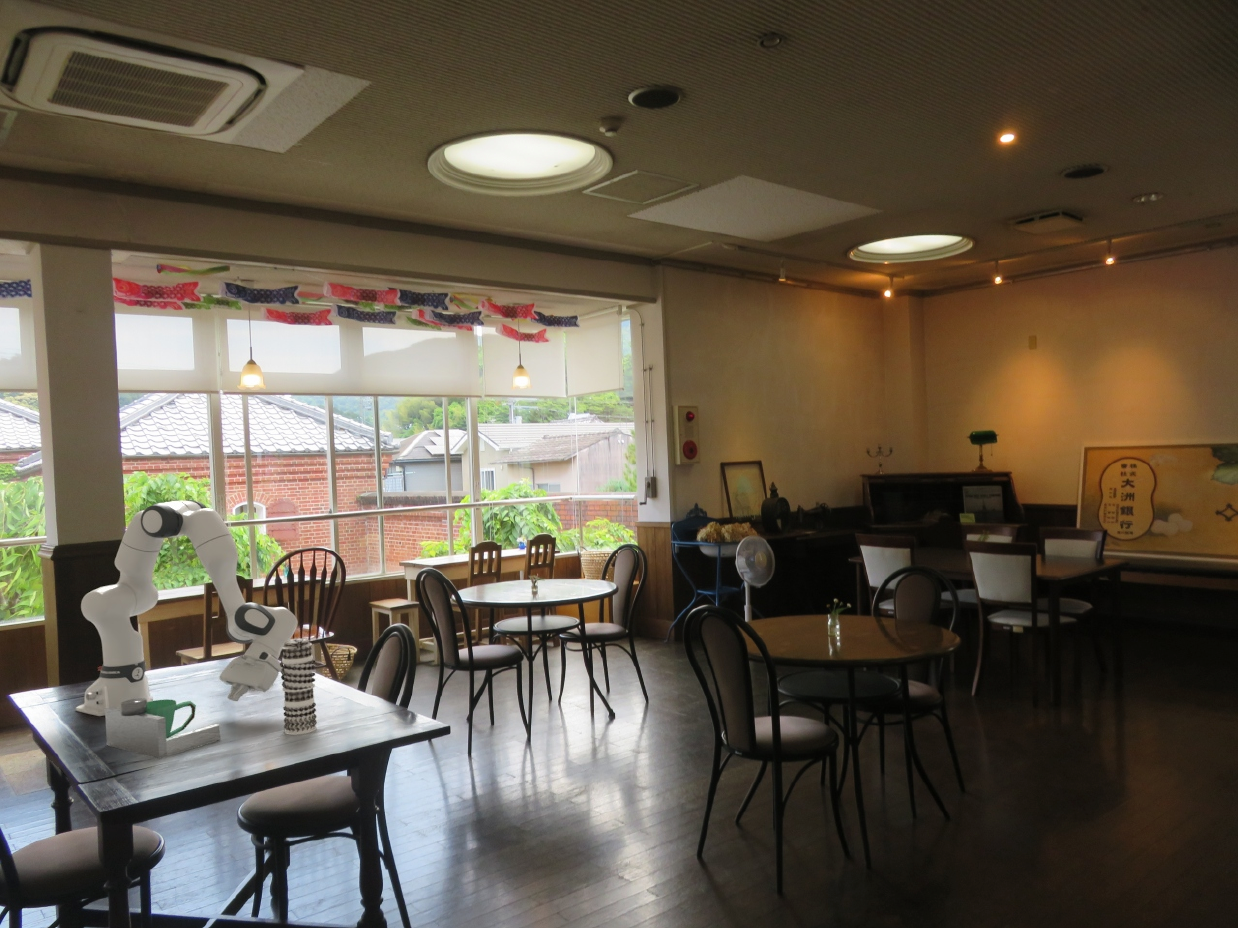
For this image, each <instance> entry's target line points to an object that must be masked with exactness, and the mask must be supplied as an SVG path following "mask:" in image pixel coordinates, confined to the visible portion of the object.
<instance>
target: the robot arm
mask: <svg viewBox="0 0 1238 928" xmlns="http://www.w3.org/2000/svg"><path fill="white" fill-rule="evenodd" d="M183 536H185V537H187V538H188V539H189V541H190V542H191V544H192V547H193V550H194V551H195V554H196V555H197V557H198V559H199V561H200V563H201V565H202V566H203V568H204V570H205V571H206V573H207V574H208V577H209V578H210V581H211V582H212V584H213V586H214V588H215V591H216V594H217V596H218V599H219V601H220V603H221V605H222V608H223V610H224V613H225V617H226V621H225V622H226V624H225V625H226V626H225V630H226V634H227V636H228V638H229V639H230V640H231V641H233V642H235V643H237V644H241V645H245V644H250V645H249V647H248V649H246V651H245V653H244V654H241V655H239V656H237V657H236V658H234V659H232V660H230V662H229V663H228V664H227V665H226V666H225V668H224V669H223V670H222V671H221V673H220V674H219V679H218V680H220V681H222V682H223V683H224V684H226V685H229V686H231V688H230V692H229V693H228V695H227V699H228V700H230V701H233V702H238V701H239V700H240V698H241V697H242V696H243V695H245V694H246V693H248V690H252V691H256V692H257V691H258V692H262V693H265V692H268V691H269V690H270V688H271V687H272V686H273V684H274V683H275V681H276V680H277V678H278V677H279V674H280V673H281V669H282V668H283V667H281V666H280V663H281V661H279V660H278V659H279V657H280V656H281V652H282V651H283V648H281V647H282V646H284V644H285V642H286V641H288V640H291V639H292V638H293V636H294V633H296V632H295V631H297V628H298V623H299V621H298V618H297V616H296V615H295V614H294V612H292V611H291V610H290V609H288V608H287V607H284V606H277V607H273V606H266V605H263V604H260V603H258V602H246V600H245V599H244V596H243V594H242V591H241V589H240V586H239V584H238V581H237V567H238V561H239V553H238V548H237V545H236V542H235V539H234V537H233V535H232V533H231V531H230V530H229V528H228V526H227V524H226V523H225V521H224V520H223V518H222V516H221V515H220V514H219V512H217V510H215V508H214V509H213V508H208V507H207V506H206V505H205V504H204V503H202V502H201V501H196V500H192V499H190V500H171V501H166V502H157V503H155V504H152V505H149V506H147V507H146V508H145V509H143V510H140V511H138V512H136V513H135V514H134V516H133V517H132V518H131V520H130V522H129V524H128V526H127V528H126V530H125V532H124V534H123V537H122V539H121V542H120V545H119V548H118V551H117V553H116V557H115V558H114V566H115V567H116V569H117V570H118V571H119V573H120V574H119V575H120V576H119V579H118V581H117V582H116V583H115V584H109V585H105V586H100V587H98V588H96V589H93V590H91V591H90V592H88V593H86V594H85V595H84V596H83V598H82V599H81V604H80V609H81V613H82V615H83V617H84V618H85V620H87V621H88V622H91V623H92V624H93V625H94V626H95V628H96V630H97V632H98V635H99V637H100V640H101V647H102V648H101V649H102V650H101V651H102V661H103V664H102V666H99V667H98V666H97V669H98V670H97V671H100V672H99V677H98V678H97V679H96V680H95V681H94V682H93V683H92V684H91V685H89V687H88V688H86V690H85V692H84V703H82V704H79V705H78V706H76V707H75V711H76V712H80V713H84V714H88V715H91V716H92V715H93V716H97V717H101V716H103V717H104V716H105V708H109V707H117V708H121V703H122V702H124V701H127V700H131V699H139V698H144V699H147V702H150V701H154V697H153V696H151V693H150V691H151V690H150V683H149V679H148V676H147V674H146V671H147V668H146V667H147V663H146V659H144V657H145V656H144V640H143V639H144V637H143V635H142V634H141V633H140V632H139V631H137V630H135V629H134V627H133V625H132V623H131V619H130V618H131V617H134V616H138V615H142V614H144V613H146V612H147V611H149V610H151V609H153V608H154V607H156V605H157V604H158V600H159V591H158V588H157V587H156V585H155V584H154V582H153V577H154V575H153V574H154V570H155V567H156V563H157V560H158V557H159V554H160V552H161V550H162V545H163V543H164V540H165V539H167V538H178V537H183Z"/></svg>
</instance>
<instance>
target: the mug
mask: <svg viewBox="0 0 1238 928" xmlns="http://www.w3.org/2000/svg"><path fill="white" fill-rule="evenodd" d="M186 707H190V709H191V714H190V715H189V716H188V718H187V719H186V720H185V722H184V723H183V724H182V725H181V726H179V727H178V728H175V729H174V730H172V728H173V724H174V720H175V713H176V711H179V710H180V709H183V708H186ZM196 707H197V704H196V703H194V702H192V701H191V700H188V701H183V702H180V703H177V700H175V699H156V700H153V701H150V702H147V712H146V714H150V715H155V716H160V717H165V724H166V739H167V738H170V737H173V736H176V735H178V734H179V733H180V732H182V731H184V730H185V729H186V728H187V727H188V725H189V724H190V723H191V722H192V721H193V720H194V719H195V715H196V709H197V708H196Z"/></svg>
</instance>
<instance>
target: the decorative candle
mask: <svg viewBox="0 0 1238 928" xmlns="http://www.w3.org/2000/svg"><path fill="white" fill-rule="evenodd" d="M312 645H313V643H312V642H310V641H309V639H307V638H304V637H303V638H300V637H299V638H291V639H290V640H288V641H286V642H285V644H284V646H282V647H281V648H283V649H282V658H281V659H282V660H281V661H280V666H281V667H283V668H282V669H281V672H280V673H281V676H280V678H281V680H282V683H281V686H282V691H283V692H284V700H283V702H284V703H283V704H284V706H283V708H282V709H283V711H284V712H283V716H284V719H283V722H284V725H283V729H284V734H286V735H290V736H292V735H293V736H299V735H305V734H309V733H312V732H314V731H316V730H317V723H318V722H317V714H315V712H317V709H316V708H315V707H316V706H317V704H316V702H315V696H314V688H315V687H316V685H315V683H314V682H315V681H316V678H314V676H316V672H315V673H314V672H313V670H314V669H316V666H315V665H313V664H315V663H316V660H315V659H314V658H313V654H312Z"/></svg>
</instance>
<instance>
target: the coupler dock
mask: <svg viewBox="0 0 1238 928" xmlns="http://www.w3.org/2000/svg"><path fill="white" fill-rule="evenodd" d="M146 712H147V699H144V698H139V699H131V700H127V701H124V702H122V703H121V708H117V707H109V708H105V715H104V716H105V732H106V735H105V736H106V746H107V745H108V746H107V747H112V748H115V749H120V750H123V751H127V752H131V753H136V754H139V755H143V756H146V757H151V758H155V759H158V760H160V759H163V758H166V757H170V756H173V755H176V754H180V753H182V752H186V751H188V750H192V749H195V748H198V746H199V747H202V746H205V745H208V744H211V742H212V743H214V741H215V742H217V740H218V741H220V740H221V727H220V724H216V723H214V724H211V725H207V726H205V727H204V726H203V727H200V728H197V729H193V730H191V731H188V732H183V733H180V734H176V735H173V736H171V737H170V738H167V739H166V724H165V717H160V716H155V715H150V714H146ZM207 743H208V744H207ZM201 745H202V746H201Z"/></svg>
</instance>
